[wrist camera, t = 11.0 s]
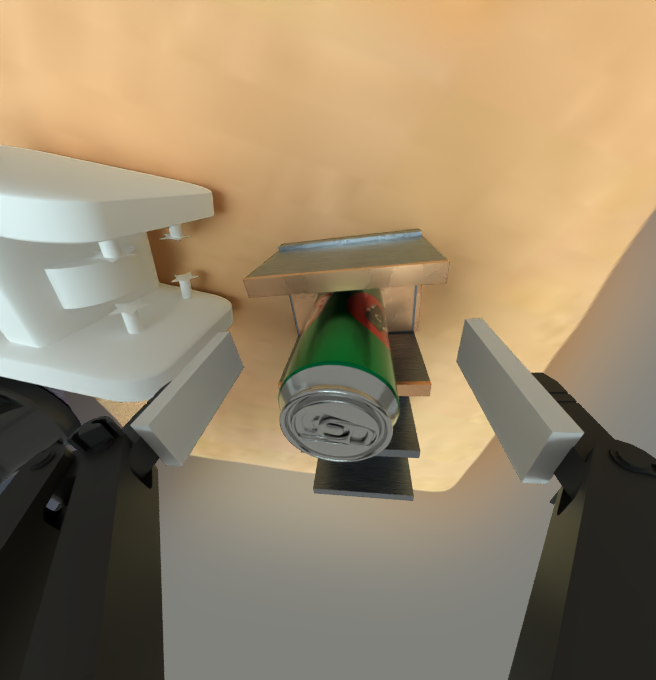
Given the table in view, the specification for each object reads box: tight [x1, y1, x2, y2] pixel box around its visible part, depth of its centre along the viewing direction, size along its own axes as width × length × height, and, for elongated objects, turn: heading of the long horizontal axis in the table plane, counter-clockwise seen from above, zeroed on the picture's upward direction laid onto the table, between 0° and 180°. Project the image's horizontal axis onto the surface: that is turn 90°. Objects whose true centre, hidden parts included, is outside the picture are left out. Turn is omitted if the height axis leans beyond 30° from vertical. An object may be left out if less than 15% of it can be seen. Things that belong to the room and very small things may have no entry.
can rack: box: [243, 229, 450, 501], centre depth 21 cm, size 10×24×7 cm, turn 7°
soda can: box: [278, 288, 400, 462], centre depth 14 cm, size 5×5×12 cm
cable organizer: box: [0, 145, 233, 402], centre depth 15 cm, size 15×11×12 cm
